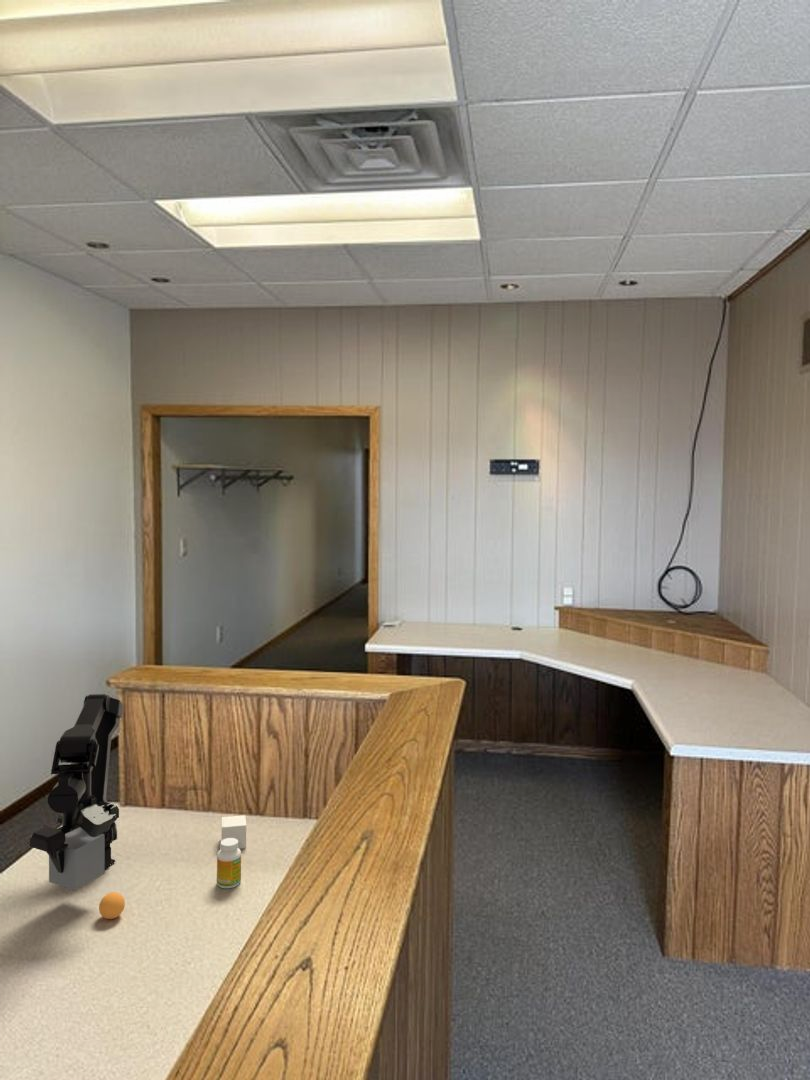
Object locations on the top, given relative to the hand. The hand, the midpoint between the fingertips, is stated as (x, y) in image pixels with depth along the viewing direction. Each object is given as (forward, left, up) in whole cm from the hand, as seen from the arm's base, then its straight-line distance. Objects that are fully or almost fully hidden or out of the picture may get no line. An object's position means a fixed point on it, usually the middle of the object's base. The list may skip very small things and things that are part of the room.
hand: (76, 863), depth 155 cm
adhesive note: (+12, +38, -9) cm, 41 cm away
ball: (+10, 0, -7) cm, 12 cm away
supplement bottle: (+23, +22, -9) cm, 33 cm away
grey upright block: (0, 0, -3) cm, 3 cm away
